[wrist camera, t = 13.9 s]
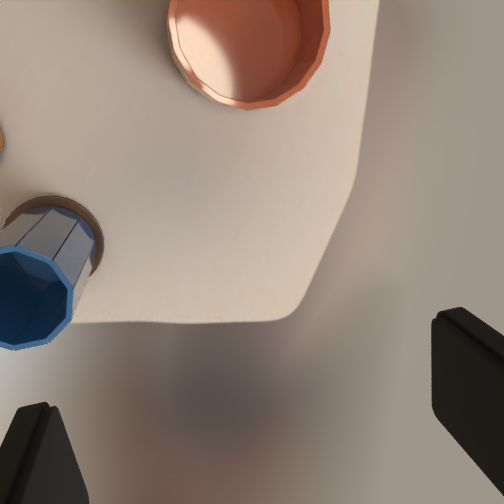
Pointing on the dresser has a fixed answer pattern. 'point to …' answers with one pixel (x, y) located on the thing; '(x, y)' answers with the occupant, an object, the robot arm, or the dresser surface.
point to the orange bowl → (247, 47)
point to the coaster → (72, 207)
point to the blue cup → (42, 274)
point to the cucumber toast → (1, 141)
